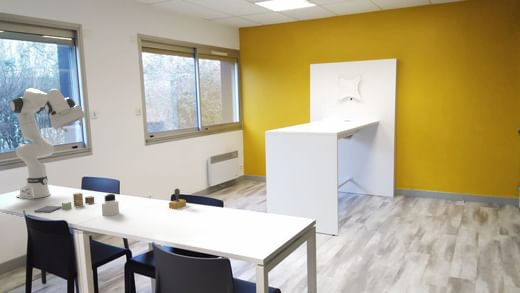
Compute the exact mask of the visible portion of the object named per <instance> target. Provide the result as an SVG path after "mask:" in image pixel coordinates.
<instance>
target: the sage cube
mask: <svg viewBox="0 0 520 293" xmlns="http://www.w3.org/2000/svg"><path fill="white" fill-rule="evenodd" d="M61 206H62V208H61V209H62V210H69V209H72V201H63V202H61Z"/></svg>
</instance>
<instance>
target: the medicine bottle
mask: <svg viewBox="0 0 520 293" xmlns="http://www.w3.org/2000/svg"><path fill="white" fill-rule="evenodd" d="M103 200H104V202H103V203H101V211H102V212H101V213H102V216H104V217H105V216H106V217H107V216H112V217H113V216H116V215H117V214H119V213H120V210H119V209H120V207H119V201H118V200H116V194H114V193H108V194H105V195H104V199H103Z"/></svg>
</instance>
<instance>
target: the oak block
mask: <svg viewBox="0 0 520 293" xmlns="http://www.w3.org/2000/svg"><path fill="white" fill-rule="evenodd" d="M83 196H84V195H83V193H82V192H75V193H73V194H72V197H73V206H74V207H77V206H78V207H82V206H84V197H83ZM81 205H82V206H81Z"/></svg>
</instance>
